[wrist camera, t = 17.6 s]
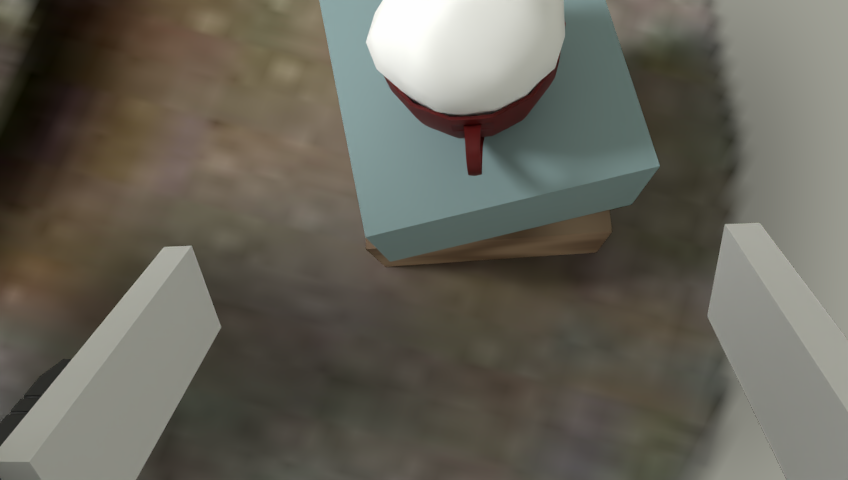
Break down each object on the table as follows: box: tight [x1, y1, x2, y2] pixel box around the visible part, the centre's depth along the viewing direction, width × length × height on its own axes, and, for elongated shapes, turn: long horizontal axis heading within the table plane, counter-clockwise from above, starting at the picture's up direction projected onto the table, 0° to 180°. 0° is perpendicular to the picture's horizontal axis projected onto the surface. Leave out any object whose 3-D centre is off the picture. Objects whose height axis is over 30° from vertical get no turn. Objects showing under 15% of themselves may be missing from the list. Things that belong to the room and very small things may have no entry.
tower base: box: [366, 210, 612, 267], centre depth 31 cm, size 11×11×5 cm
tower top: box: [319, 0, 660, 262], centre depth 26 cm, size 11×11×5 cm
